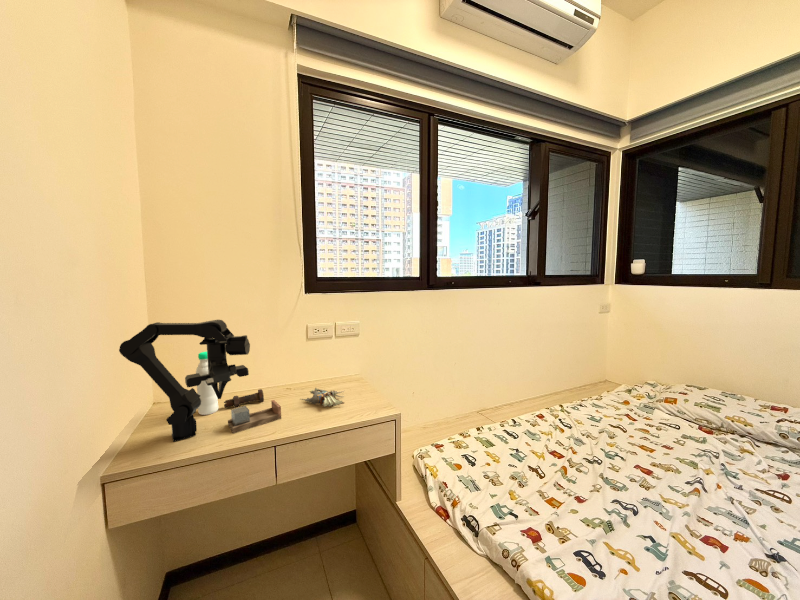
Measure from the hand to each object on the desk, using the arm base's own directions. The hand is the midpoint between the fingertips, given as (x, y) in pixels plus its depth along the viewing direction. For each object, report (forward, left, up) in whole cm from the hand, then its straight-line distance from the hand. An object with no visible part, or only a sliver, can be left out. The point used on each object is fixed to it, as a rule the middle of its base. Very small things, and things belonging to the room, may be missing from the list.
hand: (219, 398), depth 109 cm
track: (+12, 0, -12) cm, 17 cm away
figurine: (+40, -3, -13) cm, 42 cm away
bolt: (+13, +20, -13) cm, 27 cm away
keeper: (+7, 0, -11) cm, 13 cm away
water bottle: (0, +22, -13) cm, 25 cm away
